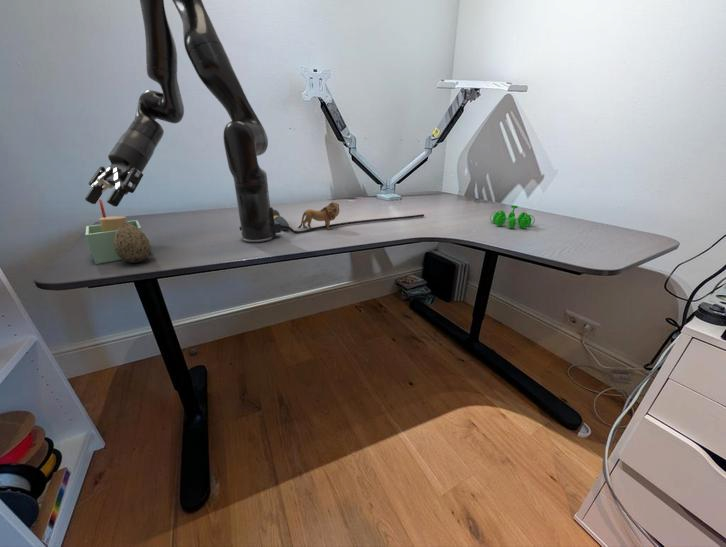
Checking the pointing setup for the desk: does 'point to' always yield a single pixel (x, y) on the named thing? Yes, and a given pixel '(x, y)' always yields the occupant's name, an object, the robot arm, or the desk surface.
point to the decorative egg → (131, 244)
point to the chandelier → (512, 219)
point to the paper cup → (110, 221)
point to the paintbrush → (280, 219)
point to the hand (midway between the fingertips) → (100, 203)
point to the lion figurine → (321, 215)
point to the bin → (104, 243)
